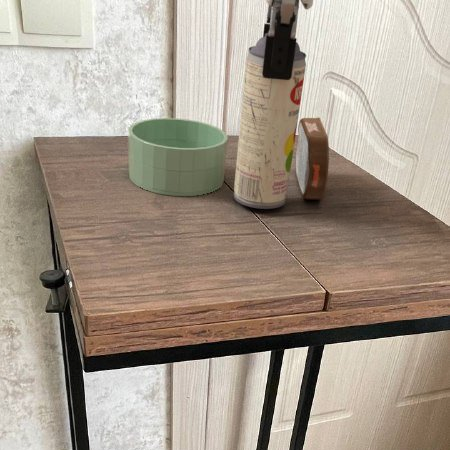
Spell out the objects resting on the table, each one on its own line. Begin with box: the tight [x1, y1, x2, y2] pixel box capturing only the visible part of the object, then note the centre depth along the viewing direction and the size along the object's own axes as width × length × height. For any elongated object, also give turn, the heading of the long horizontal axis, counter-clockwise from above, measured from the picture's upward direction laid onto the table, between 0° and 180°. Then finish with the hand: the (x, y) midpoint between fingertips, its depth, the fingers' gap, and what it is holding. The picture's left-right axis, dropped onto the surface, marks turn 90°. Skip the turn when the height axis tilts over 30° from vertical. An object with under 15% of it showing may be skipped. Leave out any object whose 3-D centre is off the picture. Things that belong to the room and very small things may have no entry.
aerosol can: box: [233, 33, 307, 210], centre depth 75 cm, size 7×7×20 cm
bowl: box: [127, 117, 229, 197], centre depth 84 cm, size 13×13×6 cm
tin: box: [294, 116, 330, 201], centre depth 85 cm, size 15×3×8 cm, turn 0°
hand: (275, 69), depth 72 cm, fingers closed on aerosol can, 6 cm apart
